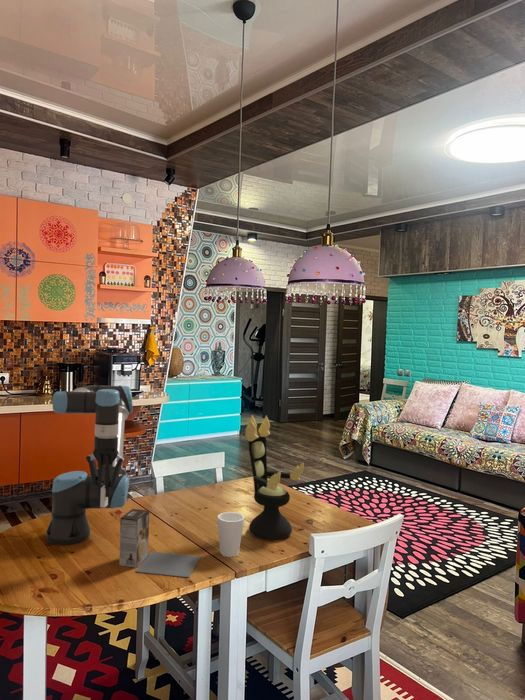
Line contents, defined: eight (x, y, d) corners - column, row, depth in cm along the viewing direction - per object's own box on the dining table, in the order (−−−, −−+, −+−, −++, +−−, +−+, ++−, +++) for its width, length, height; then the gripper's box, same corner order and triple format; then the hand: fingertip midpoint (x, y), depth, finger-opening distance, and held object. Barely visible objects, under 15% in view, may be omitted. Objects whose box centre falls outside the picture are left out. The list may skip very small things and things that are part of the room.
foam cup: (210, 552, 183) (212, 515, 182) (230, 545, 189) (232, 510, 189) (228, 561, 176) (229, 523, 175) (248, 554, 182) (249, 517, 182)
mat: (135, 572, 165) (135, 571, 165) (151, 552, 180) (151, 551, 180) (189, 577, 163) (189, 577, 163) (200, 557, 178) (200, 556, 178)
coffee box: (131, 553, 178) (132, 507, 178) (148, 556, 177) (150, 510, 176) (118, 565, 169) (120, 517, 169) (136, 568, 168) (138, 519, 167)
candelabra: (277, 547, 189) (282, 424, 187) (227, 532, 201) (232, 416, 199) (301, 531, 205) (307, 418, 203) (254, 518, 217) (259, 411, 215)
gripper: (82, 437, 170) (80, 508, 171) (120, 439, 168) (118, 511, 169) (92, 432, 177) (90, 500, 178) (129, 435, 176) (127, 504, 176)
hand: (104, 506), depth 174 cm, fingers closed
